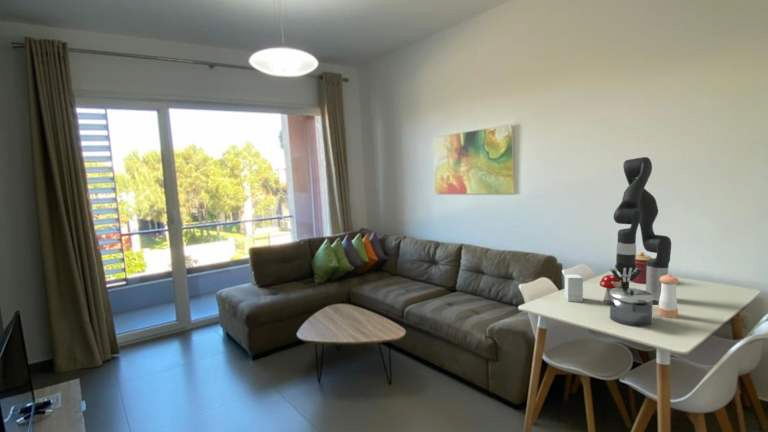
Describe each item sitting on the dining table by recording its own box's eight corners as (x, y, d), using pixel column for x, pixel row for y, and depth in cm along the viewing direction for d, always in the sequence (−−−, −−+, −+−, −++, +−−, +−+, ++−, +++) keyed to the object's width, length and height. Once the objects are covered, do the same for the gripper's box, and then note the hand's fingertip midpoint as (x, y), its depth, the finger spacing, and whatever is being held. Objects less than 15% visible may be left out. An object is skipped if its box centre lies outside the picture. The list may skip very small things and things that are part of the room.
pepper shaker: (671, 319, 178) (672, 277, 176) (654, 314, 184) (655, 273, 183) (681, 316, 181) (682, 274, 179) (664, 311, 187) (665, 271, 185)
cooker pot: (646, 313, 185) (646, 292, 184) (670, 328, 167) (671, 305, 166) (597, 313, 188) (597, 293, 187) (616, 328, 170) (616, 305, 169)
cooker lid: (634, 284, 191) (634, 279, 190) (662, 304, 168) (663, 298, 168) (597, 285, 192) (598, 279, 192) (620, 304, 170) (621, 298, 169)
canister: (623, 279, 245) (623, 250, 243) (642, 277, 246) (643, 249, 244) (639, 284, 232) (639, 254, 230) (659, 283, 233) (660, 253, 232)
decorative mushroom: (600, 306, 198) (600, 276, 197) (598, 300, 206) (598, 272, 205) (623, 307, 195) (624, 277, 193) (620, 302, 203) (620, 273, 201)
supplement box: (583, 301, 206) (583, 277, 204) (567, 301, 207) (567, 277, 206) (579, 297, 213) (579, 274, 212) (564, 297, 214) (564, 274, 213)
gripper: (637, 250, 184) (635, 286, 186) (607, 250, 185) (605, 286, 187) (646, 253, 176) (644, 291, 178) (614, 254, 178) (613, 291, 180)
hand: (624, 289), depth 183 cm, fingers closed
